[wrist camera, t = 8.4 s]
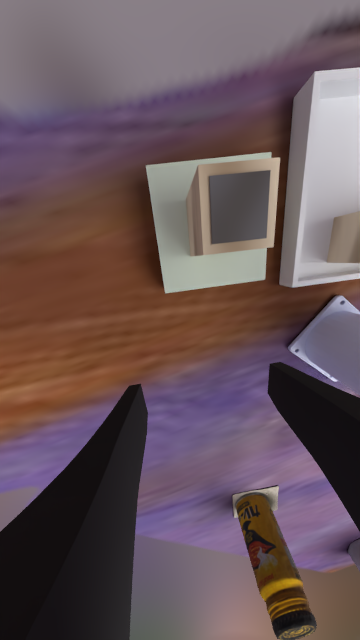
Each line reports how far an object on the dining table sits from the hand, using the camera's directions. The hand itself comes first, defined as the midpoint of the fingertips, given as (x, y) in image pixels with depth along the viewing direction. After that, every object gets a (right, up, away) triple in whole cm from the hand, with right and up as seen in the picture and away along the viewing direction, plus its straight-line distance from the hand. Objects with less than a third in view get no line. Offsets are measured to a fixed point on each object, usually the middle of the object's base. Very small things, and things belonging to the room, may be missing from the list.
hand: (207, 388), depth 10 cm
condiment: (+12, -30, +23) cm, 39 cm away
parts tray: (+15, +15, +6) cm, 22 cm away
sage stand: (+1, +12, +6) cm, 13 cm away
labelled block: (+1, +11, +4) cm, 12 cm away
